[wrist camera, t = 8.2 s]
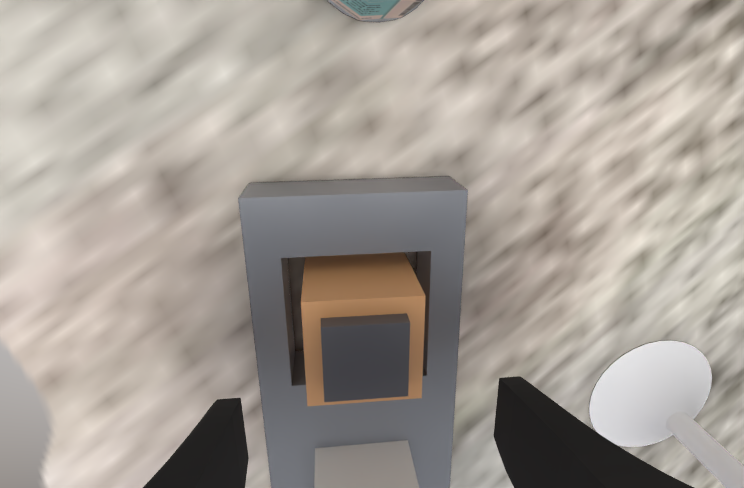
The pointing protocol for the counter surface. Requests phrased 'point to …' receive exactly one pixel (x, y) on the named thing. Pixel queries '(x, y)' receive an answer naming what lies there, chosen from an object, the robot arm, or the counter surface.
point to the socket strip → (287, 367)
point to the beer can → (376, 9)
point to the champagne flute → (661, 404)
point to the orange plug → (362, 328)
